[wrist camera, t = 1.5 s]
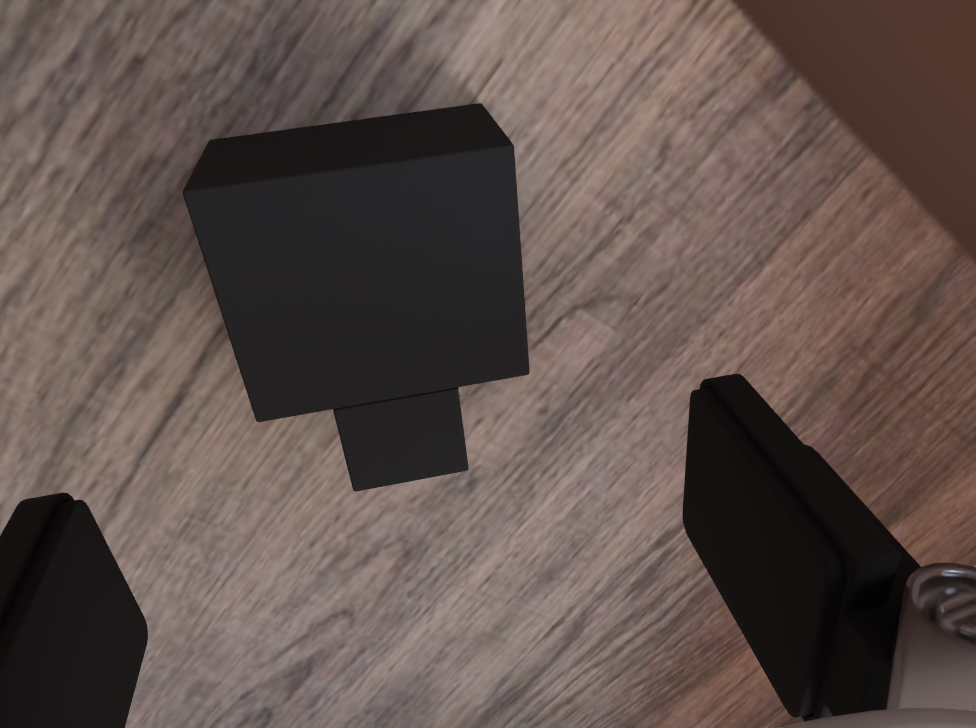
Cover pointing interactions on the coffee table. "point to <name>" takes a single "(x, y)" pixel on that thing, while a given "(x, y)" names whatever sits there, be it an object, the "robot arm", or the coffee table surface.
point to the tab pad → (369, 277)
